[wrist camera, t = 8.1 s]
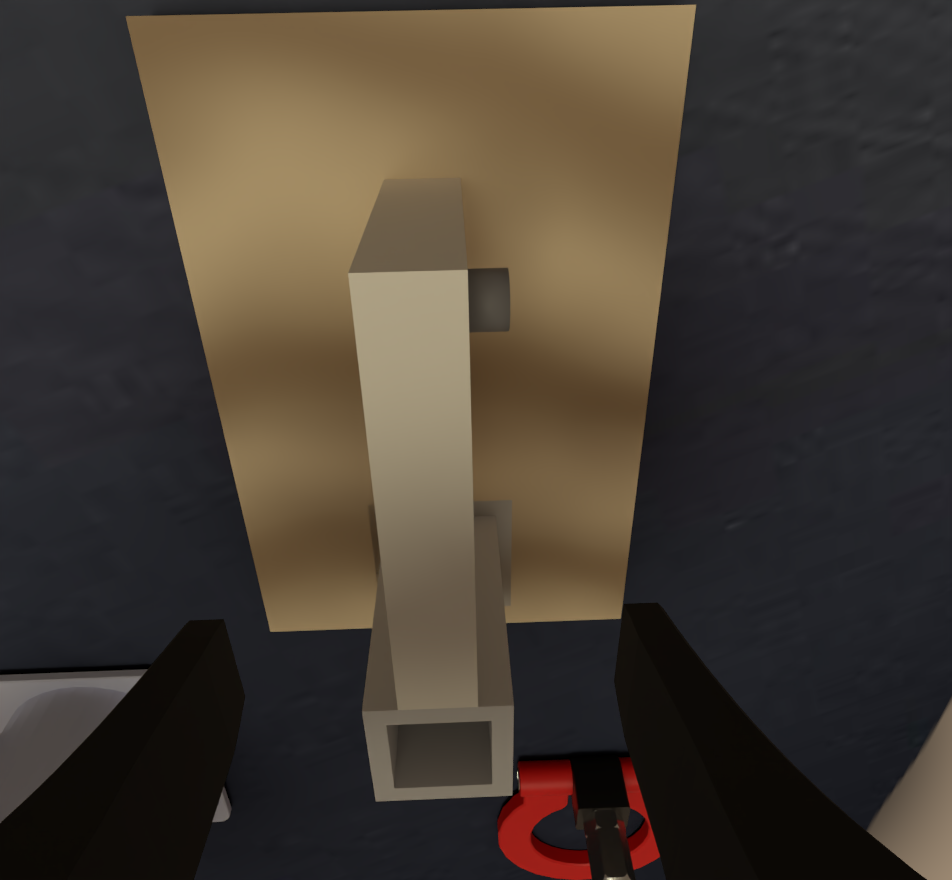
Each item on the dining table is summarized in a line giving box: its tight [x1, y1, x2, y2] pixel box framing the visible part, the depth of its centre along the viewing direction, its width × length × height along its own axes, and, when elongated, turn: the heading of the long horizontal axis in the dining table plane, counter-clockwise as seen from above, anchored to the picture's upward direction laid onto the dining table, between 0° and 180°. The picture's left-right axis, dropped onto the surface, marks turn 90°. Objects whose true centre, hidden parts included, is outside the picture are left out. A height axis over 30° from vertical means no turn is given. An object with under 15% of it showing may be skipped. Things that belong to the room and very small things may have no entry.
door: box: [348, 178, 514, 801], centre depth 17 cm, size 13×3×7 cm, turn 1°
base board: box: [126, 5, 696, 632], centre depth 19 cm, size 18×12×5 cm, turn 1°
